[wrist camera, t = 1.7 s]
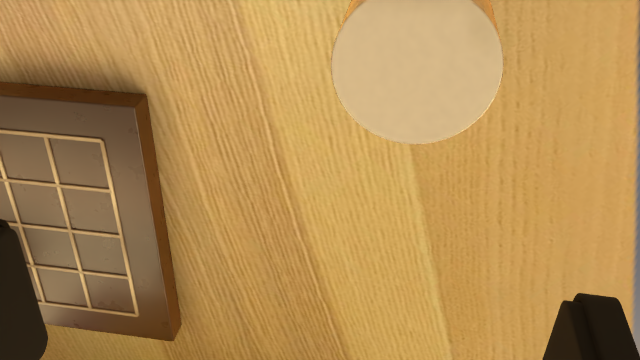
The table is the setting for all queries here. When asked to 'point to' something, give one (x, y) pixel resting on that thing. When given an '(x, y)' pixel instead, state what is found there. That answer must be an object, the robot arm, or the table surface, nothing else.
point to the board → (88, 208)
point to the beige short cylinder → (417, 66)
